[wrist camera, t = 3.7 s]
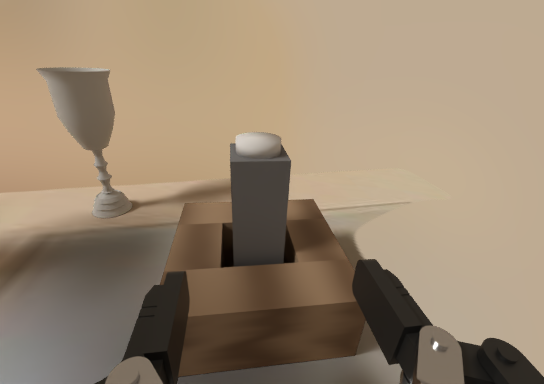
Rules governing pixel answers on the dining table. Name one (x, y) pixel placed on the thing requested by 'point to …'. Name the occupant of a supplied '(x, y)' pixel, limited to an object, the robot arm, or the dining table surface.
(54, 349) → the dining table surface
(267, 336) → the wooden square socket block
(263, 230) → the plug
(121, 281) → the dining table surface
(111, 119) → the chalice
